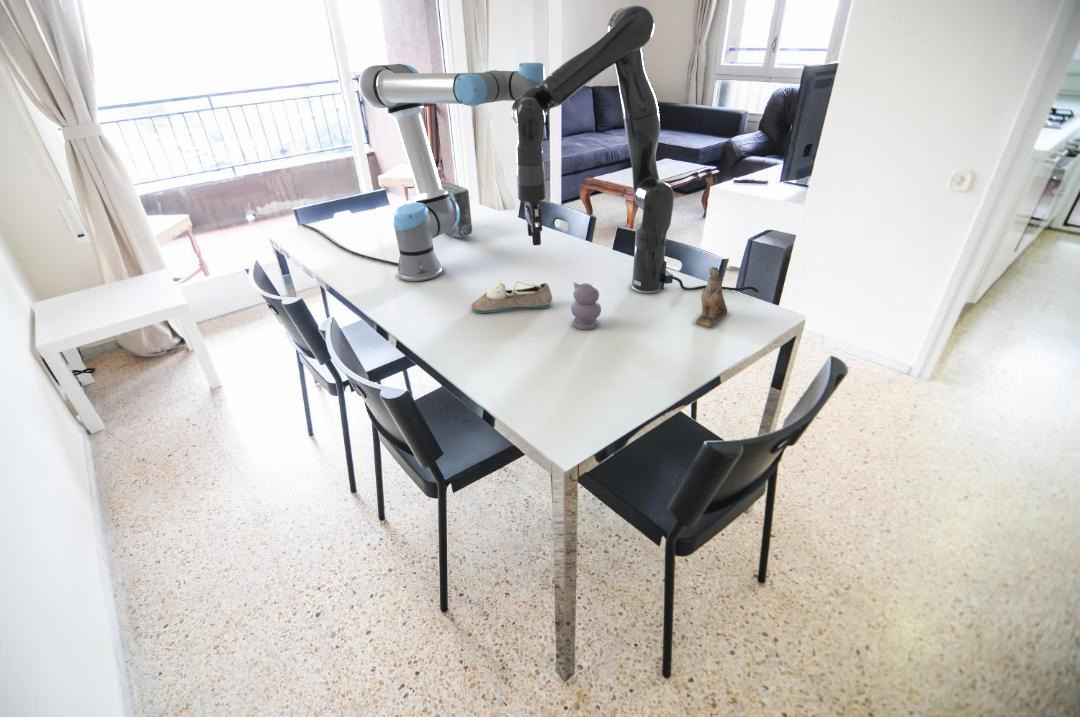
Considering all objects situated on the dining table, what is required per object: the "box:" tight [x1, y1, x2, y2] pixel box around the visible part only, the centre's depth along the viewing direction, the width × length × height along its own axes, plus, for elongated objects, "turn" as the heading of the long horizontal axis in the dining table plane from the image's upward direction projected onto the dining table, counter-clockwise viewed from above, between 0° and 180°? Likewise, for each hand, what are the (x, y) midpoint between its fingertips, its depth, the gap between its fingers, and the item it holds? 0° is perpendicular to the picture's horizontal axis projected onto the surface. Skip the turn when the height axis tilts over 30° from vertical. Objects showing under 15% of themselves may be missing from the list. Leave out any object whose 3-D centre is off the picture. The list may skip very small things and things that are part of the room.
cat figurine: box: [570, 281, 602, 331], centre depth 136 cm, size 8×8×12 cm
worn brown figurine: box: [695, 266, 728, 328], centre depth 135 cm, size 12×6×18 cm, turn 136°
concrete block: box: [440, 180, 473, 238], centre depth 209 cm, size 27×9×20 cm, turn 36°
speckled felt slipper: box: [470, 280, 553, 314], centre depth 149 cm, size 8×25×8 cm, turn 99°
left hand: (534, 198), depth 156 cm, fingers open, 13 cm apart
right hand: (534, 240), depth 141 cm, fingers open, 8 cm apart
